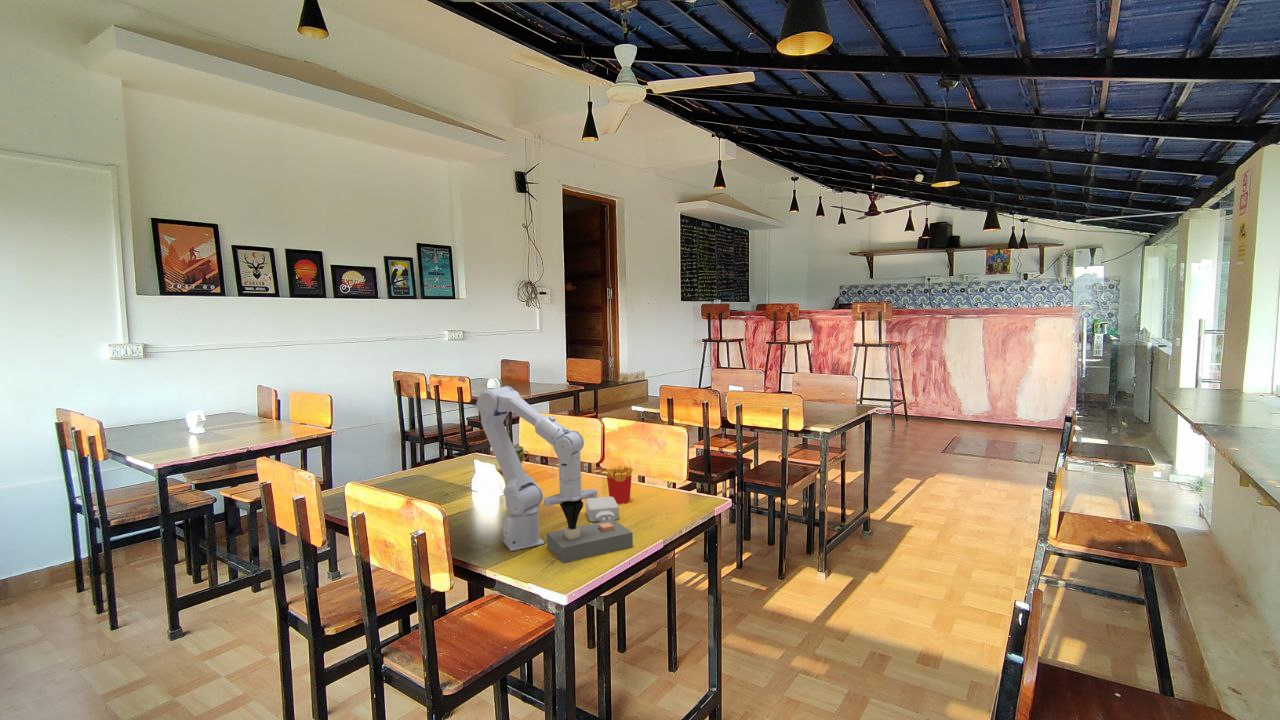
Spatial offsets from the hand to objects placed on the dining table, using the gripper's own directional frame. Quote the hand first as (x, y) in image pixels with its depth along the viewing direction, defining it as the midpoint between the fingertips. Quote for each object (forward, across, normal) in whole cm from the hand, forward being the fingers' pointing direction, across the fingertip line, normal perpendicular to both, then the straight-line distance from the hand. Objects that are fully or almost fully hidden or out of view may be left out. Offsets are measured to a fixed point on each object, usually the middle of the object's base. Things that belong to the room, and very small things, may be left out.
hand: (572, 527), depth 164 cm
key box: (+6, +5, 0) cm, 8 cm away
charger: (+7, +17, +18) cm, 26 cm away
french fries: (+6, +29, +30) cm, 42 cm away
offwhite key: (+3, 0, 0) cm, 3 cm away
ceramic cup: (+6, +9, +84) cm, 85 cm away
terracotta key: (+4, +10, 0) cm, 11 cm away
